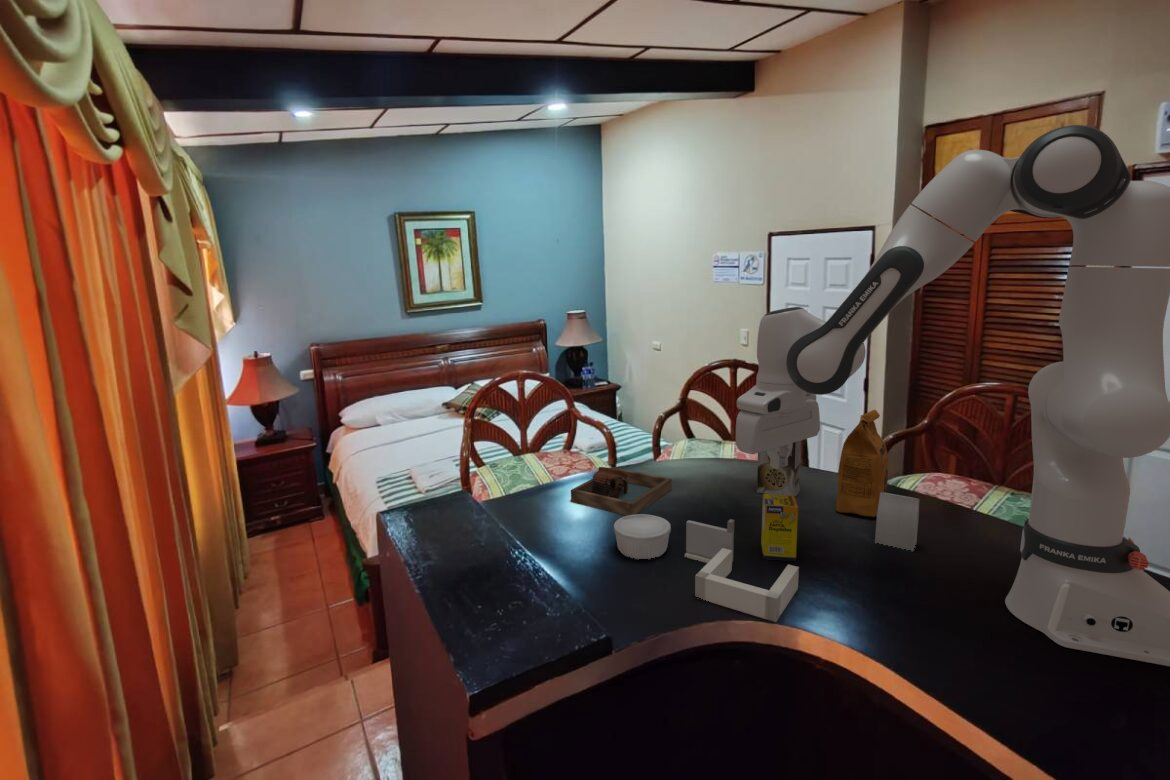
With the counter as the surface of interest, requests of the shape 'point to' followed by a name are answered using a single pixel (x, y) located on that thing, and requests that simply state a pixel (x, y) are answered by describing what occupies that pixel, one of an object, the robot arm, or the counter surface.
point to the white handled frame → (743, 587)
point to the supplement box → (779, 527)
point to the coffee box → (780, 474)
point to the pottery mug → (616, 482)
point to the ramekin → (642, 536)
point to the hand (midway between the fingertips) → (778, 466)
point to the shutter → (708, 538)
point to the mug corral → (621, 506)
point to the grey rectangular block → (897, 521)
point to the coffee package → (862, 469)
